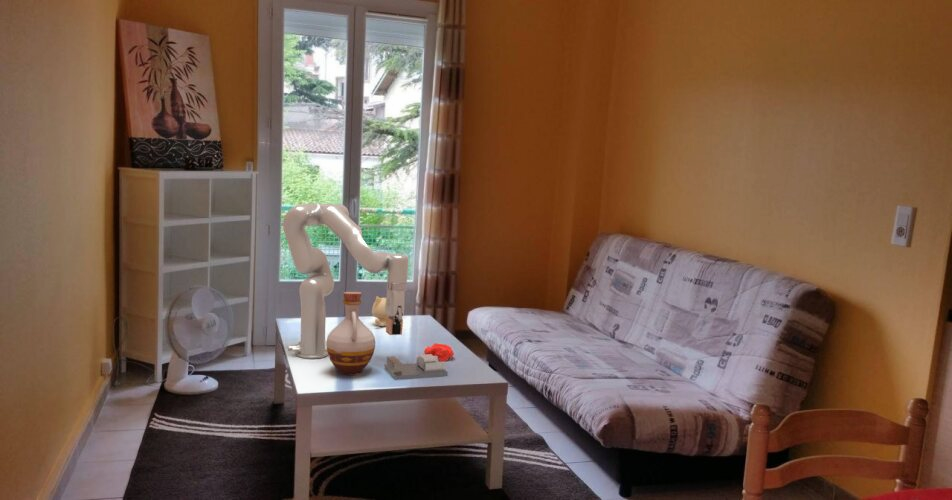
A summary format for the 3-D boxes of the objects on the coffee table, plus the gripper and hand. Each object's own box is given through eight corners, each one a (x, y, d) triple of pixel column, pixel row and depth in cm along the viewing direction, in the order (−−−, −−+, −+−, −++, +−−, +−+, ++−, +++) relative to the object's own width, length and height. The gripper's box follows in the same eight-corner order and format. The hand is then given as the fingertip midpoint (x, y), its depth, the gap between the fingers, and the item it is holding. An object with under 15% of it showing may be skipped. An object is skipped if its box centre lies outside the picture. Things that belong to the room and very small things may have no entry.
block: (389, 335, 273) (390, 319, 272) (385, 331, 277) (386, 316, 276) (402, 334, 275) (402, 319, 274) (398, 331, 279) (399, 316, 278)
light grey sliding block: (423, 369, 264) (424, 359, 264) (418, 365, 269) (418, 354, 269) (436, 368, 266) (436, 358, 266) (430, 364, 272) (431, 354, 271)
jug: (378, 379, 255) (381, 297, 252) (328, 381, 250) (330, 297, 247) (370, 364, 274) (373, 287, 270) (323, 365, 269) (325, 287, 265)
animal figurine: (444, 352, 299) (444, 340, 298) (457, 361, 285) (458, 348, 285) (418, 353, 294) (418, 341, 294) (430, 362, 281) (430, 350, 280)
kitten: (390, 321, 348) (391, 291, 346) (402, 326, 340) (403, 295, 339) (364, 325, 338) (365, 294, 336) (376, 329, 330) (377, 298, 329)
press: (395, 380, 256) (396, 365, 255) (384, 369, 268) (385, 354, 268) (447, 375, 264) (448, 361, 263) (434, 365, 277) (434, 351, 276)
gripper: (381, 282, 280) (378, 327, 282) (394, 290, 264) (391, 338, 267) (399, 282, 283) (396, 326, 285) (413, 290, 267) (410, 337, 270)
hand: (393, 331), depth 276 cm, fingers closed on block, 5 cm apart
